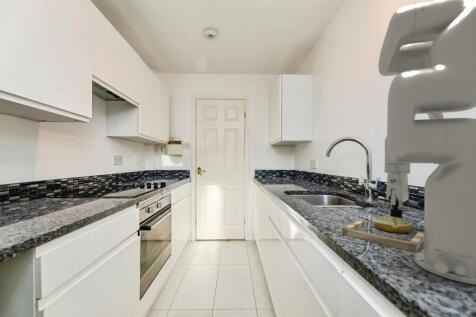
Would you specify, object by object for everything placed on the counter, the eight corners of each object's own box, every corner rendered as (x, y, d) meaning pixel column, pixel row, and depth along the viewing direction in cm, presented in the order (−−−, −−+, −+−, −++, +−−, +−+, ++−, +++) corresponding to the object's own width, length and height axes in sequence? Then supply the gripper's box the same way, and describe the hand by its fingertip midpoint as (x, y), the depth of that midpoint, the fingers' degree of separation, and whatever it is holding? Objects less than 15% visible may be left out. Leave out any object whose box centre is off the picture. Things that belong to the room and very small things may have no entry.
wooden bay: (416, 252, 56) (416, 245, 56) (342, 234, 69) (342, 228, 69) (425, 238, 67) (425, 232, 67) (359, 225, 80) (359, 220, 80)
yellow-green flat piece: (366, 227, 78) (366, 216, 78) (385, 223, 83) (386, 213, 83) (398, 236, 69) (398, 223, 69) (418, 232, 73) (418, 220, 73)
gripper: (405, 170, 73) (404, 226, 73) (414, 169, 83) (413, 218, 83) (378, 169, 78) (378, 221, 78) (390, 168, 88) (389, 214, 88)
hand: (396, 220), depth 81 cm, fingers closed
